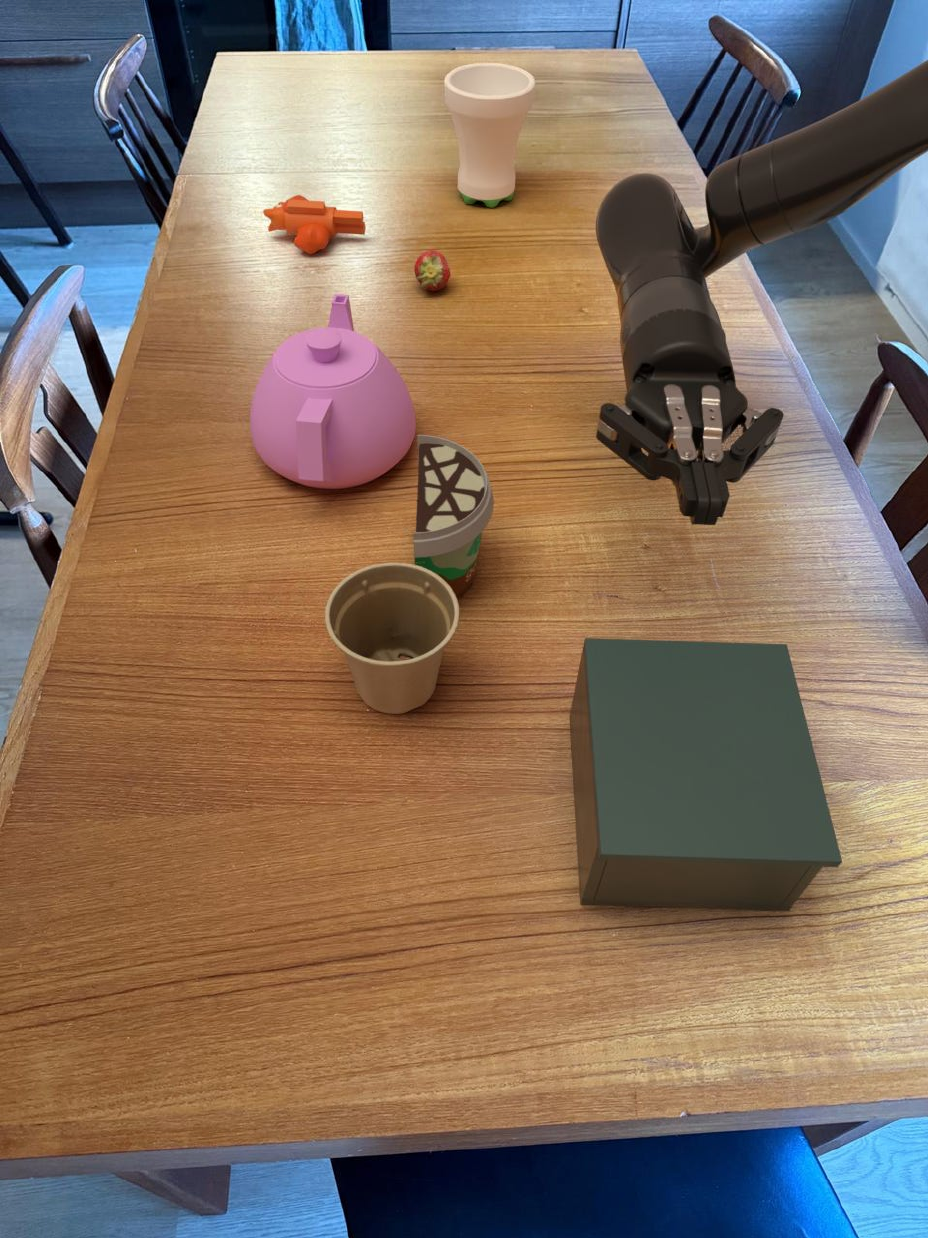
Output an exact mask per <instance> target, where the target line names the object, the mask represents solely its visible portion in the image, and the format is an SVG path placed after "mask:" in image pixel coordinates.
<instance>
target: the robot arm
mask: <svg viewBox="0 0 928 1238" xmlns="http://www.w3.org/2000/svg"><path fill="white" fill-rule="evenodd" d="M926 153H928V59H927V60H925V61H923V62H922V63H920V64H918V65H917V66H915V67H914V68H912V69H910V70H909V71H906V72H905V73H903V74H902V75H900V76H898V77H897V78H895V79H894V80H891V82H889V83H887V84H885V85H884V86H882V87H880V88H878V89H876V90H874V91H873V92H871V93H870V94H868V95H866V96H865V97H863V98H861V99H859V100H858V101H856V102H854V103H851V104H850V105H848V106H846V107H845V108H842V109H840V110H839V111H836V112H834V113H832V114H830V115H829V116H826V117H824V118H822V119H820V120H818V121H816V122H813V123H811V124H809V125H807V126H805V127H803V128H800V129H798V130H796V131H793V132H791V133H789V134H786V135H783V136H781V137H779V138H777V139H774V140H772V141H769V142H767V143H765V144H763V145H760V146H757V147H756V148H753V149H750V150H748V151H745V152H744V153H742V154H739V155H736V156H734V157H732V158H730V159H727V160H726V161H724V162H721V163H720V164H718V165H717V166H716V167H715V168H714V169H713V170H712V171H711V172H710V174H709V175H708V176H707V179H706V183H705V189H704V200H705V201H704V202H705V208H706V215H707V219H708V223H707V224H705V225H704V226H701V227H698V228H695V227H694V225H693V223H692V221H691V219H690V217H689V216H688V213H687V211H686V209H685V207H684V205H683V203H682V202H681V199H680V198H679V196H678V194H677V192H676V191H675V188H674V187H673V186H672V184H670V182H669V181H668V180H667V179H665V178H663V177H661V176H660V175H657V174H653V173H650V172H649V173H647V172H643V173H636V174H631V175H629V176H627V177H625V178H623V179H621V180H619V181H618V182H617V183H616V184H614V185H613V186H612V187H611V188H610V189H609V191H608V192H607V193H606V194H605V196H604V198H603V199H602V201H601V203H600V205H599V208H598V209H597V214H596V217H595V236H596V241H597V244H598V247H599V250H600V253H601V256H602V259H603V261H604V264H605V266H606V269H607V271H608V274H609V277H610V278H611V281H612V283H613V286H614V290H615V293H616V297H617V308H618V309H617V310H618V315H619V321H620V331H619V347H620V354H621V361H622V368H623V375H624V383H625V389H626V394H625V396H624V402H625V403H623V404H621V405H619V406H618V405H616V404H614V403H611V402H606V403H603V404H602V405H601V406H600V409H599V415H598V418H597V419H598V421H597V426H596V435H595V438H596V439H597V441H598V442H600V443H601V444H602V445H604V446H605V447H606V448H607V449H609V450H610V451H611V452H612V453H614V454H615V455H616V456H618V457H619V458H620V459H622V460H623V461H624V462H625V463H626V464H628V465H629V466H630V467H632V469H634V470H635V471H637V473H639V474H640V475H642V476H643V477H644V478H645V479H647V480H648V481H653V482H654V481H658V480H661V478H665V479H668V480H670V482H671V485H672V486H674V487H675V491H676V497H677V502H678V508H679V512H680V513H681V514H682V516H683V517H689V520H690V521H689V522H690V524H691V525H693V526H695V525H698V526H716V525H717V522H718V518H723V517H724V514H725V511H726V508H727V505H728V502H729V500H730V497H731V496H730V490H729V486H728V483H729V484H730V483H732V484H734V483H738V482H739V481H741V479H743V477H744V476H746V474H747V473H748V472H749V471H750V470H751V469H752V468H753V466H755V464H756V463H757V462H759V460H760V459H761V458H762V457H764V455H765V454H766V453H767V452H768V451H769V450H770V449H771V448H772V447H773V445H774V444H775V440H776V438H777V436H778V432H779V429H780V427H781V425H782V421H783V419H784V416H785V414H784V412H783V411H782V410H781V409H779V408H776V407H770V408H766V410H765V411H764V412H763V413H762V412H760V411H758V410H755V409H753V408H751V407H749V406H748V404H749V402H748V399H747V397H746V395H744V393H743V392H742V391H740V390H739V388H738V387H737V383H736V375H735V370H734V365H733V362H732V358H731V354H730V352H729V347H728V344H727V336H726V332H725V329H724V328H723V326H722V321H721V318H720V315H719V312H718V311H717V308H716V306H715V304H714V303H713V301H712V299H711V294H710V291H709V287H708V283H707V280H706V278H709V277H710V276H711V275H712V274H714V273H716V272H717V271H719V270H720V269H722V268H724V267H725V266H727V265H728V264H730V263H731V262H733V261H734V260H736V259H738V258H740V257H741V256H743V255H744V254H746V253H747V252H749V251H751V250H753V249H755V248H759V247H762V246H764V245H766V244H770V243H773V242H776V241H778V240H781V239H784V238H787V237H790V236H793V235H795V234H798V233H801V232H804V231H807V230H810V229H812V228H815V227H817V226H820V225H822V224H824V223H826V222H828V221H830V220H832V219H834V218H836V217H838V216H840V215H842V214H844V213H845V212H846V211H848V210H849V209H851V208H853V207H854V206H856V205H857V204H858V203H860V202H861V201H863V200H864V199H865V198H866V197H868V196H869V195H870V194H871V193H873V192H874V191H875V190H876V189H878V188H879V187H881V186H882V185H883V184H884V183H885V182H887V181H888V180H889V179H890V178H891V177H893V176H894V175H896V174H897V173H898V172H899V171H901V170H902V169H903V168H905V167H906V166H908V165H909V164H911V163H912V162H913V161H915V160H916V159H918V158H920V157H921V156H923V155H924V154H926ZM739 426H741V428H742V431H741V433H740V434H741V435H740V436H739V437H738V438H737V439H736V440H735V441H734V442H733V443H732V444H731V445H730V449H727V450H724V448H723V444H724V443H725V442H726V440H728V438H729V437H730V436H731V435H732V434H733V433H734V432H735V431H736V429H737V428H739ZM643 451H645V452H646V453H647V454H646V453H644V452H643ZM727 482H728V483H727Z"/></svg>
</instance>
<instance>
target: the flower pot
mask: <svg viewBox="0 0 928 1238" xmlns="http://www.w3.org/2000/svg"><path fill="white" fill-rule="evenodd" d="M459 604H460V603H459V601H458V599H457V598H456V596H455V593H454V592H453V590H452V588H451V587H450V586H449V585H448V584H447V583H446V582H445V580H443V579H442V578H441V577H440V576H438V575H437V574H436V573H434V572H432V571H430V570H428V569H426V568H423V567H421V566H417V565H415V564H414V563H408V562H407V563H406V562H397V561H396V562H395V561H390V562H384V563H379V562H378V563H375V564H370V565H367V566H364V567H361V568H360V569H357V570H355V571H353V572H351V573H350V574H348V575H347V576H346V577H344V578H343V579H341V581H340V582H339V583H338V584H337V585H336V587H334V589H333V590H332V591H331V593H330V595H329V597H328V599H327V601H326V604H325V608H324V623H325V627H326V630H327V633H328V635H329V637H330V639H331V641H332V642H333V643H334V645H335V646H336V647H337V648H338V649H339V650H340V651H341V652H342V654H343V655H344V657H345V660H346V663H347V665H348V668H349V671H350V674H351V677H352V679H353V683H354V685H355V690H356V691H357V693H358V695H359V697H360V699H362V701H363V702H364V703H365V705H366V706H368V707H369V708H371V709H372V710H375V711H377V712H380V713H383V714H389V715H400V714H406V713H408V712H410V711H412V710H414V709H417V708H418V707H421V706H424V705H425V704H426V703H427V702H428V701H429V700H430V698H431V697H432V696H433V694H434V692H435V690H436V686H437V682H438V676H439V672H440V667H441V663H442V659H443V655H444V651H445V649H446V647H447V646H448V644H449V643H450V641H451V640H452V638H453V637H454V635H455V633H456V631H457V629H458V626H459V622H460V605H459ZM400 655H404V656H407V657H409V659H404V658H401V657H400V658H399V656H400Z"/></svg>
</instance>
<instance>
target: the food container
mask: <svg viewBox="0 0 928 1238" xmlns="http://www.w3.org/2000/svg"><path fill="white" fill-rule="evenodd" d="M417 473H418V474H417V497H416V498H417V499H416V516H415V522H416V523H415V532H413V533H412V534H413V558H414V565H417V566H421V567H423V568H426V569H428V570H430V571H432V572H434V573H436V574H437V575H438V576H440V577H441V578H442V579H443V580H445V582H446V583H447V584H448V585H449V586H450V587H451V588H452V590H453V592H454V593H455V596H456V598H457V600H459V599H461V598H462V597H464V596H465V595H466V593H467V592H468V591H469V590H470V588H471V587H472V586H473V584H474V581H475V578H476V574H477V570H478V569H477V568H478V562H479V556H480V549H481V542H482V534H483V531H484V530H485V529H486V527H487V526H488V524H489V522H490V520H491V519H492V515H493V512H494V507H495V506H494V505H495V499H494V493H493V489H492V484H491V480H490V477H489V476H488V472H487V470H486V469H485V467H484V465H483V464H482V462H481V461H480V459H478V457H477V456H476V455H475V454H474V453H473V452H471V451H470V450H469V449H467V448H466V447H464V446H463V445H461V444H459V443H457V442H455V441H452V440H450V439H447V438H443V437H439V436H435V435H428V434H417Z"/></svg>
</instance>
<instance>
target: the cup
mask: <svg viewBox="0 0 928 1238" xmlns="http://www.w3.org/2000/svg"><path fill="white" fill-rule="evenodd" d="M443 82H444V86H443V87H444V104H445V106H446V107H447V109H448V110H449V113H450V116H451V119H452V122H453V126H454V130H455V134H456V139H457V144H458V153H459V169H458V173H457V190H458V191H459V192H460V195H461V197H462V198H463V201H464V203H465V204H467V205H473V204H475V203H477V202H478V201H479V202H483V204H484V205H485V206H486V207H487V208H489V209H493V208H496V206H497V205H498V204H499V203H500V201H504V202H505V201H506V202H508V201H509V202H510V201H512V199H514V195H515V189H516V177H517V176H516V171H515V161H516V153H517V146H518V141H519V138H520V135H521V131H522V129H523V125H524V123H525V120H526V118H527V115H528V113H529V111H531V109H532V107H533V104H534V101H535V91H536V79H535V77H534V76H533V75H532V74H531V73H530V72H528V71H527V70H525V69H523V68H521V67H518V66H515V65H511V64H506V63H500V62H477V63H469V64H465V65H460V66H458V67H455V68H453V69H452V70H451V71H449V72H448V73H447V74H445V77H444V81H443Z"/></svg>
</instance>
